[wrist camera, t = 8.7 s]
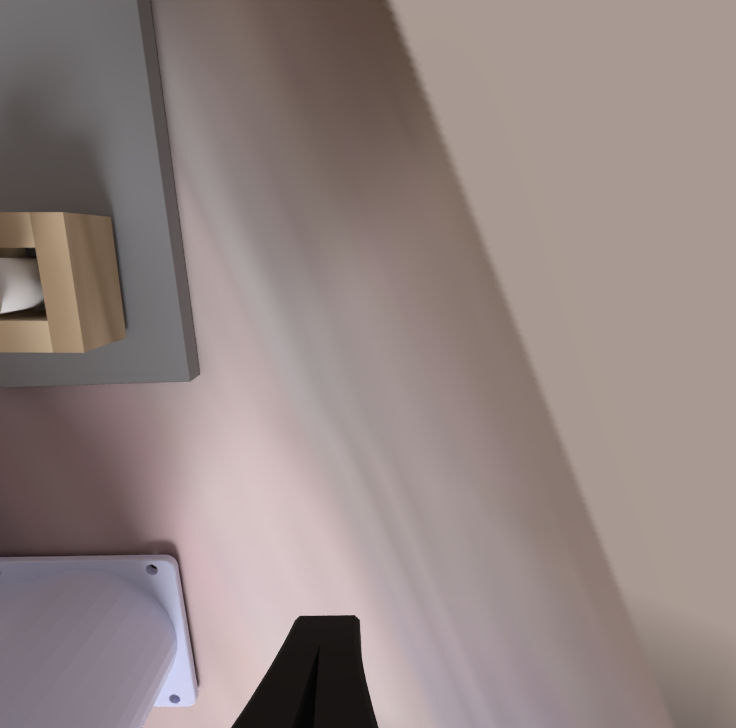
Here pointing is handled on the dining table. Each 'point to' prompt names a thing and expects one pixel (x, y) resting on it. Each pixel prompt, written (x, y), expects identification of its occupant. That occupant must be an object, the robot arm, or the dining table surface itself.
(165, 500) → the dining table surface
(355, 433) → the dining table surface
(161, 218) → the board
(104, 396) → the dining table surface
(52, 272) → the link
